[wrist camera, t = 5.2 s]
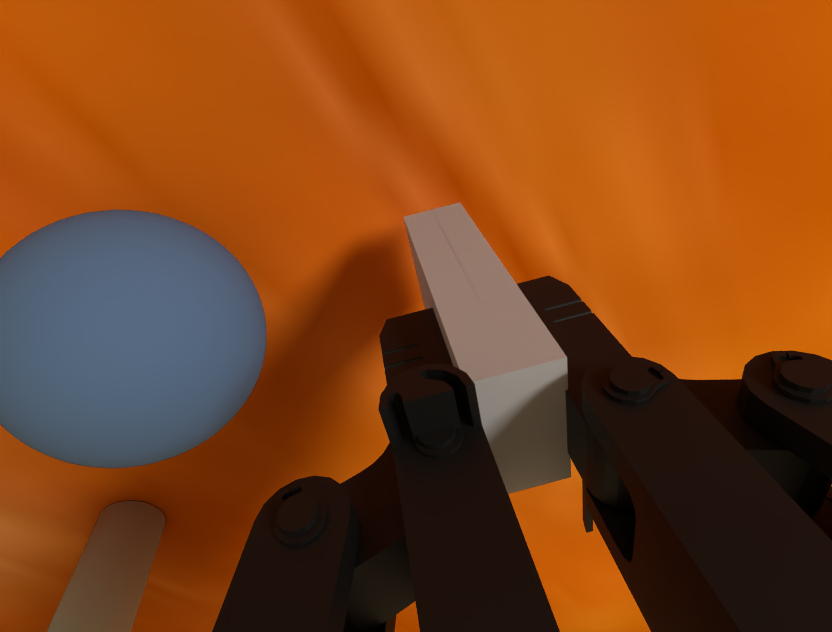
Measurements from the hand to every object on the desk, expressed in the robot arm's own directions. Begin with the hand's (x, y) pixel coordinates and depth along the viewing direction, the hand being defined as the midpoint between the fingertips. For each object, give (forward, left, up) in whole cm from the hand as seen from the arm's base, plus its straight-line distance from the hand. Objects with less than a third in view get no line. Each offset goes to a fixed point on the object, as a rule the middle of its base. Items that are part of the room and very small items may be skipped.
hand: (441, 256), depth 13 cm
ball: (+8, 0, +1) cm, 8 cm away
